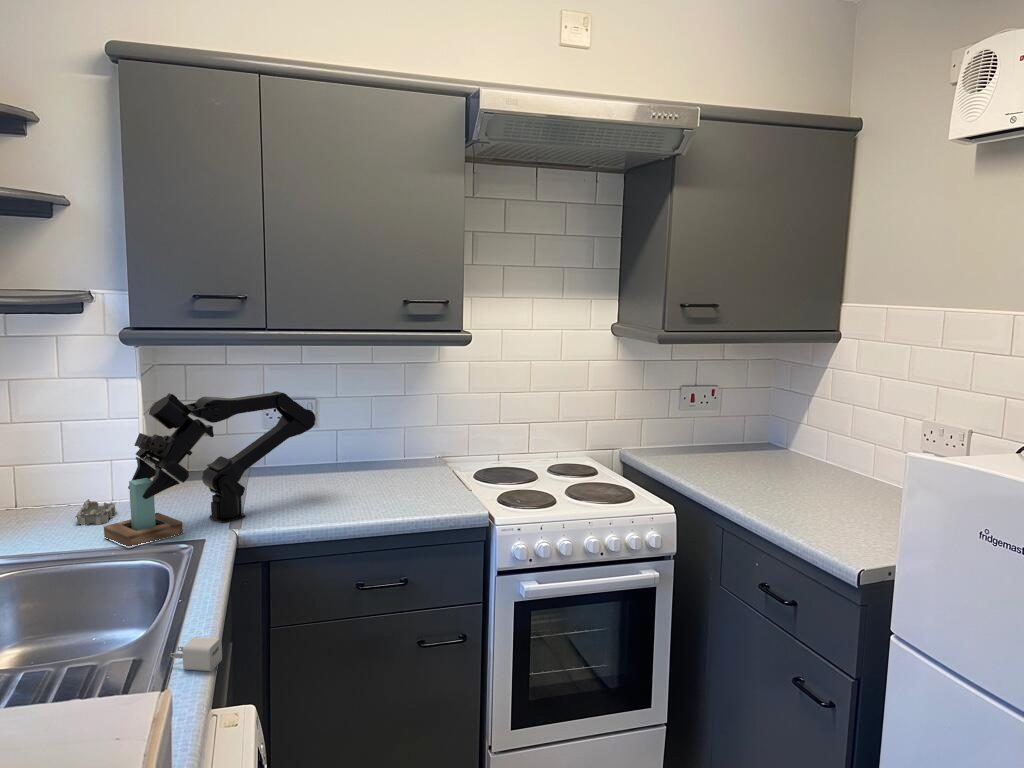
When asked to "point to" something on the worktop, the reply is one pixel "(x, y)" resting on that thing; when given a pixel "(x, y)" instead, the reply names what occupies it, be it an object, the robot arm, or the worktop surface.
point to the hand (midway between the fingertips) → (136, 493)
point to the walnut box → (143, 531)
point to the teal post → (141, 505)
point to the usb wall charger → (200, 654)
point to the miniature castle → (95, 512)
